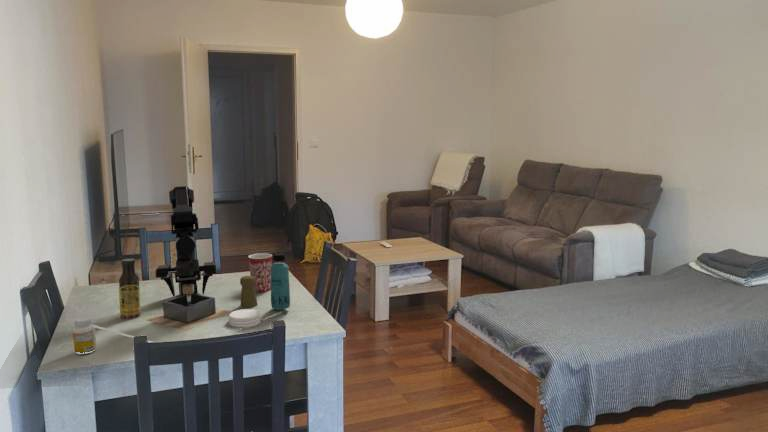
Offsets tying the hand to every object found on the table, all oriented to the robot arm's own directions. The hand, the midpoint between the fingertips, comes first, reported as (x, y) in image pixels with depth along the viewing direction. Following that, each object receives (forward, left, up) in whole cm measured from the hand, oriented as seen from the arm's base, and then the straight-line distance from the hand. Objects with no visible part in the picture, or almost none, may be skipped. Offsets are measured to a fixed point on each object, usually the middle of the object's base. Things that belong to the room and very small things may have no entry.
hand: (188, 295), depth 190 cm
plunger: (0, 0, -7) cm, 7 cm away
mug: (-4, +37, -8) cm, 38 cm away
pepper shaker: (+9, +18, -8) cm, 22 cm away
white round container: (+20, +5, -8) cm, 22 cm away
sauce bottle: (-17, -10, -8) cm, 21 cm away
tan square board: (0, 0, -8) cm, 8 cm away
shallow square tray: (-1, 0, -7) cm, 7 cm away
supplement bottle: (-2, -35, -8) cm, 36 cm away
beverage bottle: (+22, +20, -8) cm, 31 cm away
